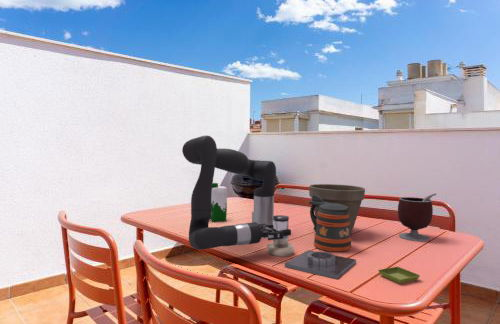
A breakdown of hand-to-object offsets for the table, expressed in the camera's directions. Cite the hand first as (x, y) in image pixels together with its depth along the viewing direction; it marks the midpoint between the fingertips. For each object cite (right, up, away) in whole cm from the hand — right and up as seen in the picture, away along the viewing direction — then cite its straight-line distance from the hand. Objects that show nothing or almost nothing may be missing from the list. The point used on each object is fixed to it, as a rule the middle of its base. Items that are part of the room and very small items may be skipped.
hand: (284, 229), depth 131 cm
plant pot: (+27, -8, +30) cm, 41 cm away
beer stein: (+18, -9, +9) cm, 22 cm away
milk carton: (-30, -6, +55) cm, 63 cm away
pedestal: (-2, -9, 0) cm, 9 cm away
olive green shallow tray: (+32, -11, -25) cm, 42 cm away
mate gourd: (+60, -8, +22) cm, 65 cm away
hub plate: (+11, -9, -14) cm, 20 cm away
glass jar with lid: (-2, -6, 0) cm, 6 cm away
